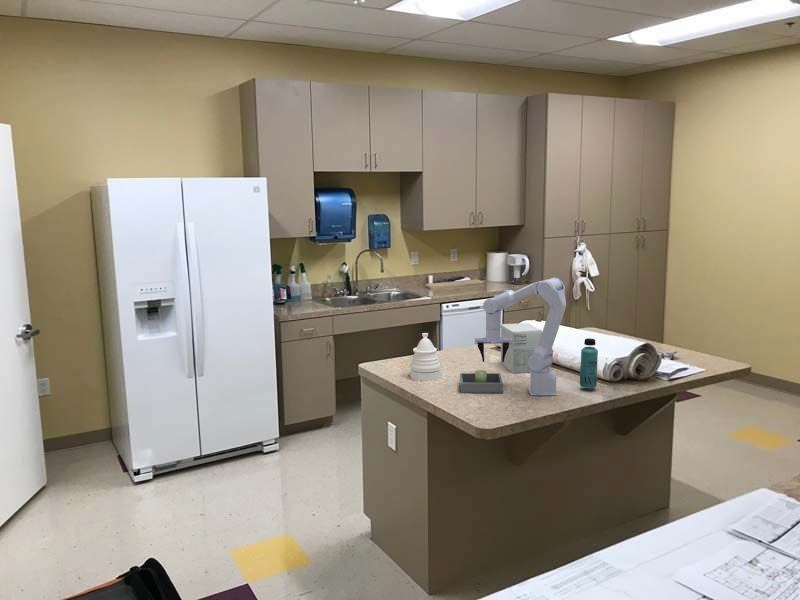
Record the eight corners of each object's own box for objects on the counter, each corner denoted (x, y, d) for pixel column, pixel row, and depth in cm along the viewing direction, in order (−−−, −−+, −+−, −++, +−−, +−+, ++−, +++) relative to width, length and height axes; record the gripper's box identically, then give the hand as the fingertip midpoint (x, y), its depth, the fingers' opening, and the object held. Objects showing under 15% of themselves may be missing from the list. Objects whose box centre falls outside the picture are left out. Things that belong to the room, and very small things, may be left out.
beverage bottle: (575, 388, 252) (577, 338, 249) (588, 386, 255) (589, 336, 252) (588, 393, 246) (589, 341, 243) (600, 390, 250) (602, 339, 246)
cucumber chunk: (486, 384, 257) (486, 370, 256) (486, 388, 253) (487, 373, 252) (474, 384, 258) (474, 370, 257) (475, 388, 253) (475, 373, 252)
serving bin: (499, 382, 262) (499, 373, 261) (503, 393, 248) (503, 383, 247) (459, 382, 263) (459, 373, 262) (460, 393, 249) (460, 383, 248)
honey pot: (410, 372, 279) (409, 331, 276) (440, 372, 279) (439, 331, 276) (410, 381, 266) (410, 338, 263) (442, 380, 266) (441, 337, 263)
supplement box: (542, 372, 276) (543, 330, 273) (512, 373, 274) (512, 331, 271) (528, 361, 293) (528, 322, 290) (499, 363, 291) (500, 323, 288)
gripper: (474, 330, 253) (474, 363, 255) (512, 330, 251) (512, 364, 254) (474, 326, 260) (474, 359, 262) (511, 326, 258) (511, 359, 261)
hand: (493, 361), depth 259 cm, fingers open, 7 cm apart
